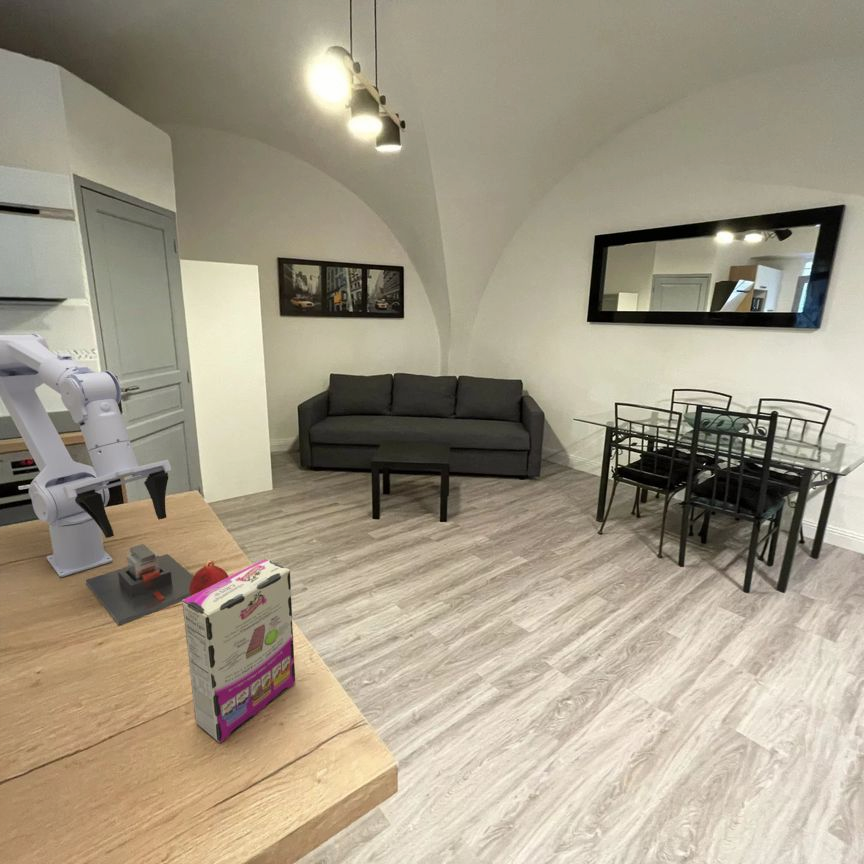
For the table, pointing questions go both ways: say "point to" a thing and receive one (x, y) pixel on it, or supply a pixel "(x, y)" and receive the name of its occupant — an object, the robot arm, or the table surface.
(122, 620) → the stand
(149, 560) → the grey block
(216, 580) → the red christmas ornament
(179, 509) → the table surface
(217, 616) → the candy bar box
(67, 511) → the robot arm
